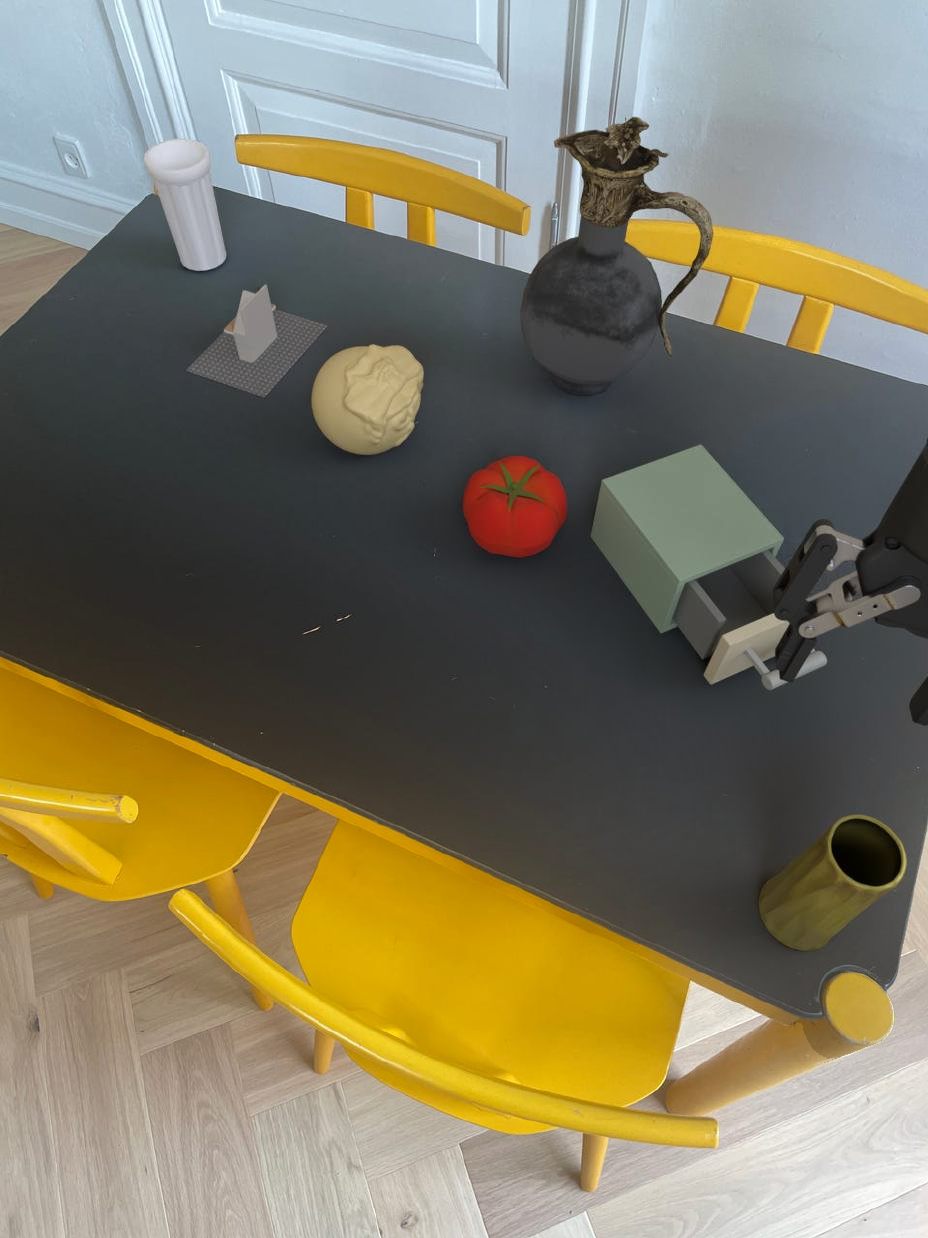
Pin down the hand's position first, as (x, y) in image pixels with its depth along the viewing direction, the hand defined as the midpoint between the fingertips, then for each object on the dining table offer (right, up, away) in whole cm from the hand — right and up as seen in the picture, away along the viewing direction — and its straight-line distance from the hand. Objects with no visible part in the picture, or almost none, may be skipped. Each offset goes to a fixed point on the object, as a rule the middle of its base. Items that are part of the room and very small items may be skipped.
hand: (850, 694), depth 54 cm
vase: (+2, -19, +15) cm, 24 cm away
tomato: (-20, +14, +37) cm, 44 cm away
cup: (-60, +54, +63) cm, 103 cm away
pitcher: (-9, +34, +50) cm, 61 cm away
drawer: (+1, +4, +28) cm, 29 cm away
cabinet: (-3, +10, +34) cm, 36 cm away
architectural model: (-50, +39, +53) cm, 83 cm away
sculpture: (-35, +26, +45) cm, 63 cm away
